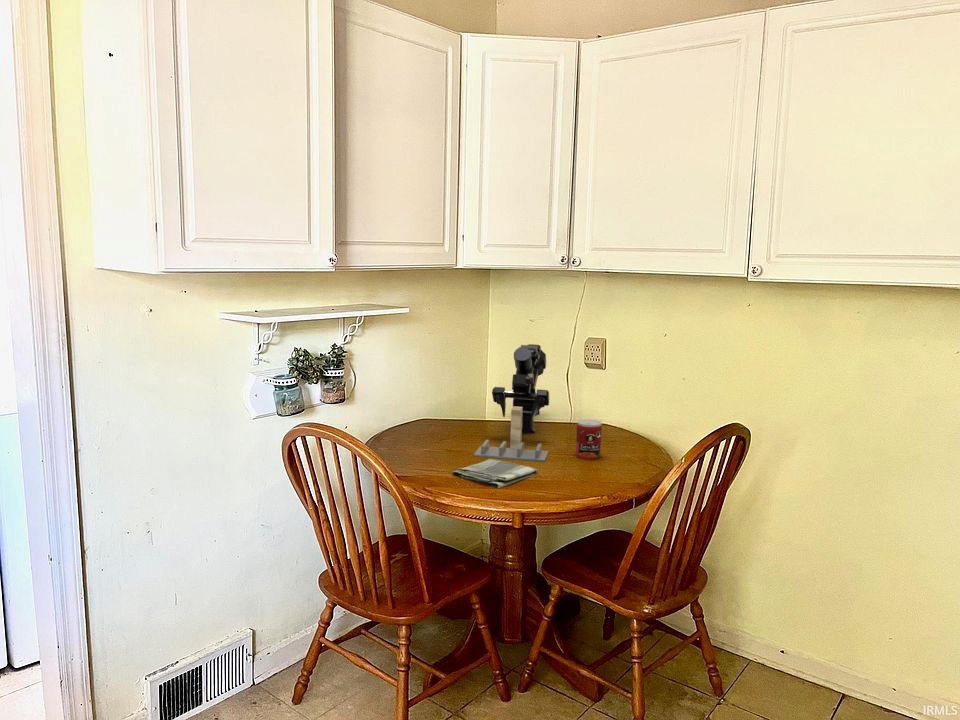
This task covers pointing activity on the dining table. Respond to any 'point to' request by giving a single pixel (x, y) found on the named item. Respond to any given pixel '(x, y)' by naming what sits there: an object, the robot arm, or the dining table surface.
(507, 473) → the dish towel
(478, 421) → the dining table surface
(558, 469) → the dining table surface
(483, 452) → the slotted rack
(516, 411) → the birch block
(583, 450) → the canned food
